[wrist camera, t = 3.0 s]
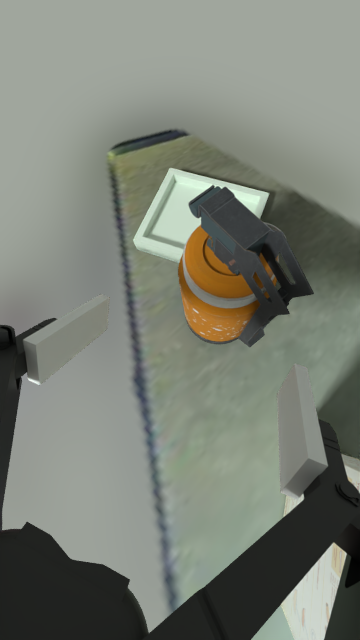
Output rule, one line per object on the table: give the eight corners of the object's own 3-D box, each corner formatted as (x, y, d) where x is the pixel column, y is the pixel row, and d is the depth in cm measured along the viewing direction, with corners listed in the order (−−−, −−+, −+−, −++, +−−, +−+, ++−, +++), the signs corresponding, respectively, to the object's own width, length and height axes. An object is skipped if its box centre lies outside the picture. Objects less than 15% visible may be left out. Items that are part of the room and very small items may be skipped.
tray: (265, 205, 40) (269, 193, 37) (236, 281, 36) (239, 273, 34) (171, 180, 42) (170, 167, 40) (137, 249, 39) (133, 239, 37)
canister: (220, 272, 37) (243, 139, 18) (275, 329, 34) (373, 242, 15) (172, 309, 36) (141, 211, 17) (224, 371, 33) (259, 337, 14)
